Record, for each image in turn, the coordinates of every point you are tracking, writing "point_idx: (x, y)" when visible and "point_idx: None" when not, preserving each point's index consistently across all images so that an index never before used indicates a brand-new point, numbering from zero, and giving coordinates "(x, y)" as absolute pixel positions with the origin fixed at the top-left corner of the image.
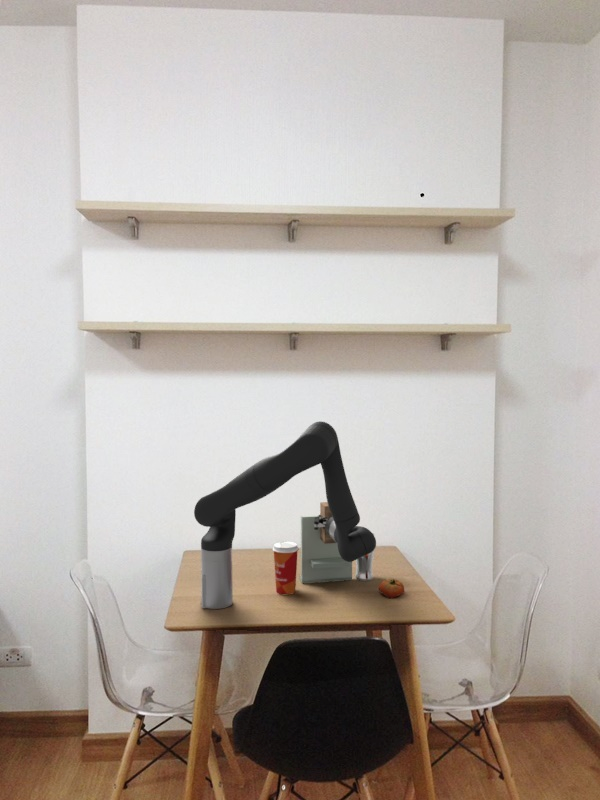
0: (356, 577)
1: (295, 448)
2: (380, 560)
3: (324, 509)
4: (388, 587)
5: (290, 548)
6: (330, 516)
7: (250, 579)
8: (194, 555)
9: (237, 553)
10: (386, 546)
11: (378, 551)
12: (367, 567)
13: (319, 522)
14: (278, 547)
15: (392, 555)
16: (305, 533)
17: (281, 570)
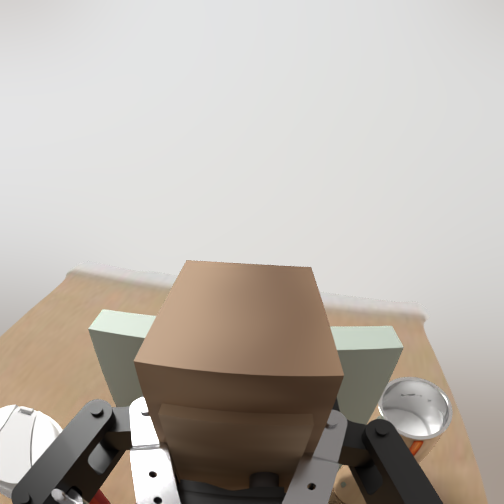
0: (336, 490)
1: None
2: (404, 375)
3: (142, 385)
4: None
5: (5, 484)
6: (211, 452)
7: (60, 405)
8: (66, 285)
9: (125, 294)
10: (409, 315)
11: (398, 333)
12: None
13: (128, 443)
14: None
15: (425, 352)
16: (126, 396)
17: None
